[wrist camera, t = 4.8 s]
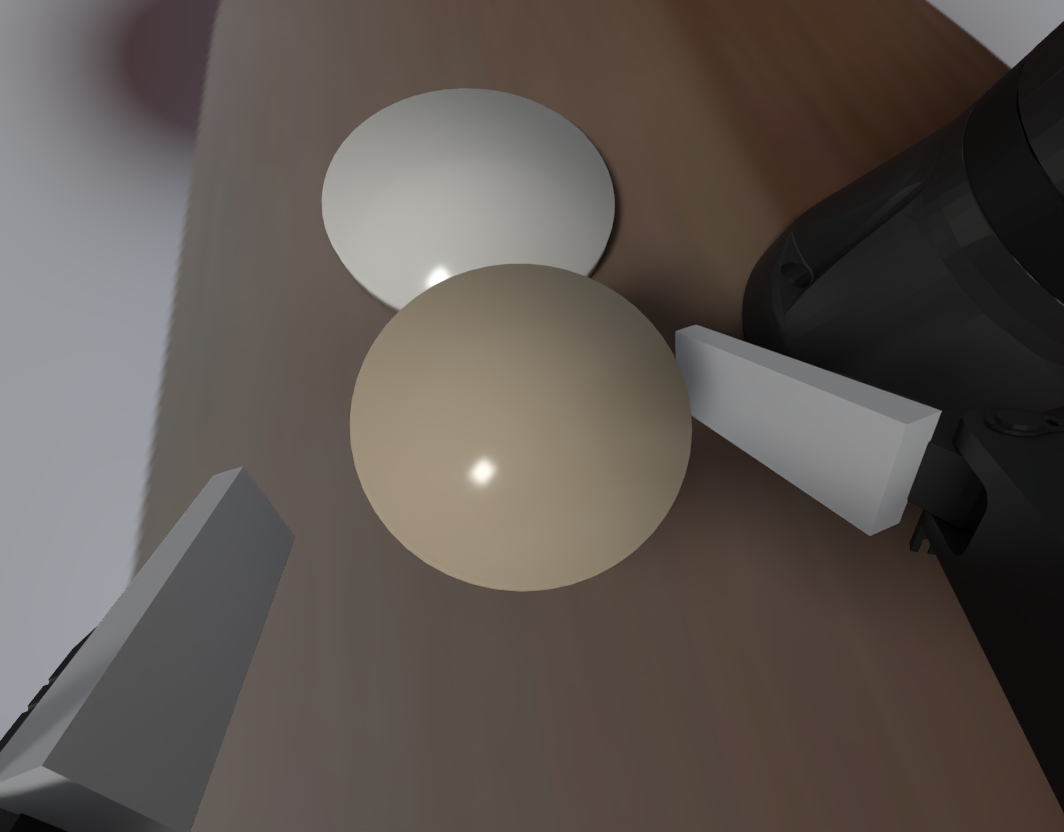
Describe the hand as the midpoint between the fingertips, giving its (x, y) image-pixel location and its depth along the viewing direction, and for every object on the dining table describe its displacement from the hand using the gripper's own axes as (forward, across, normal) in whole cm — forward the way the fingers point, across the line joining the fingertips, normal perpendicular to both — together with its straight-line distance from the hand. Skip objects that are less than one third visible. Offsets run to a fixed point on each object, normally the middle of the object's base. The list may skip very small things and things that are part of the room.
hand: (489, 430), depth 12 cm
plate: (+13, +3, +6) cm, 15 cm away
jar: (+3, +1, -4) cm, 6 cm away
